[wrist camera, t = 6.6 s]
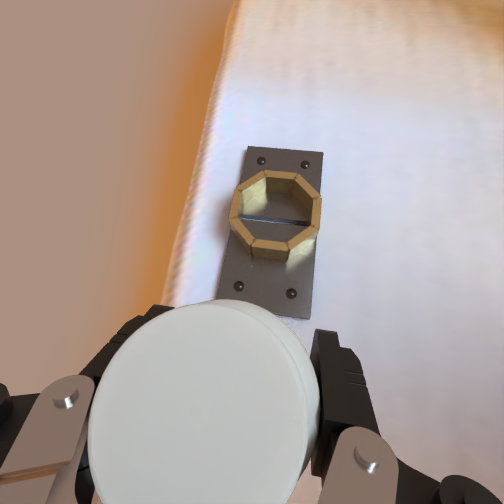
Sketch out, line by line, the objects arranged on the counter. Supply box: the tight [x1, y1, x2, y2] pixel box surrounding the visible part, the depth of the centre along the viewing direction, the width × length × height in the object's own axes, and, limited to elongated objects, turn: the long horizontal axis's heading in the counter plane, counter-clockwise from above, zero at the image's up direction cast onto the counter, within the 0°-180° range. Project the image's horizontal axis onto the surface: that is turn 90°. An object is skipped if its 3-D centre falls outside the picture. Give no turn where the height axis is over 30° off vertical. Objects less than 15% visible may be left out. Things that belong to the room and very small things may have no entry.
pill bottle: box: [88, 299, 321, 504], centre depth 9 cm, size 5×5×10 cm
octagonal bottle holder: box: [216, 146, 323, 319], centre depth 28 cm, size 19×9×3 cm, turn 171°
